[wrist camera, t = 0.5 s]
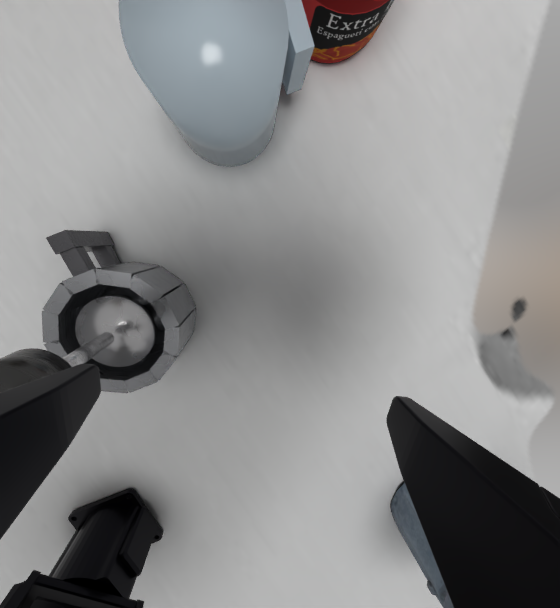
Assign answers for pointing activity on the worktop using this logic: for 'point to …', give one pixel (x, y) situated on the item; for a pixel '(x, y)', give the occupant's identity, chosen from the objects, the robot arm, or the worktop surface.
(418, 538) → the moka pot
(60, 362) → the plunger
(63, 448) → the robot arm
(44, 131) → the worktop surface
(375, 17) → the canned food
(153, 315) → the press carafe
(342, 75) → the worktop surface
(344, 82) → the worktop surface
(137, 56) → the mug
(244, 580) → the worktop surface
